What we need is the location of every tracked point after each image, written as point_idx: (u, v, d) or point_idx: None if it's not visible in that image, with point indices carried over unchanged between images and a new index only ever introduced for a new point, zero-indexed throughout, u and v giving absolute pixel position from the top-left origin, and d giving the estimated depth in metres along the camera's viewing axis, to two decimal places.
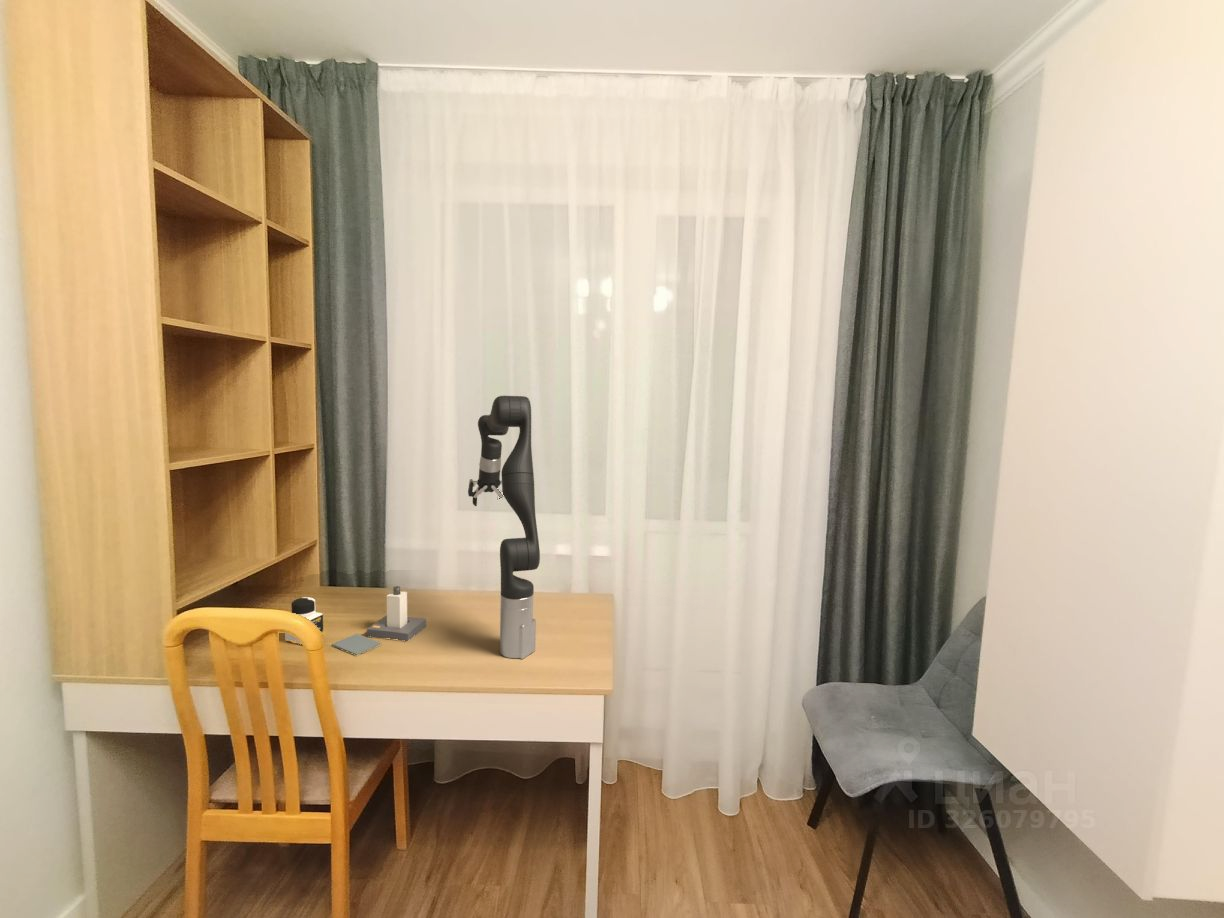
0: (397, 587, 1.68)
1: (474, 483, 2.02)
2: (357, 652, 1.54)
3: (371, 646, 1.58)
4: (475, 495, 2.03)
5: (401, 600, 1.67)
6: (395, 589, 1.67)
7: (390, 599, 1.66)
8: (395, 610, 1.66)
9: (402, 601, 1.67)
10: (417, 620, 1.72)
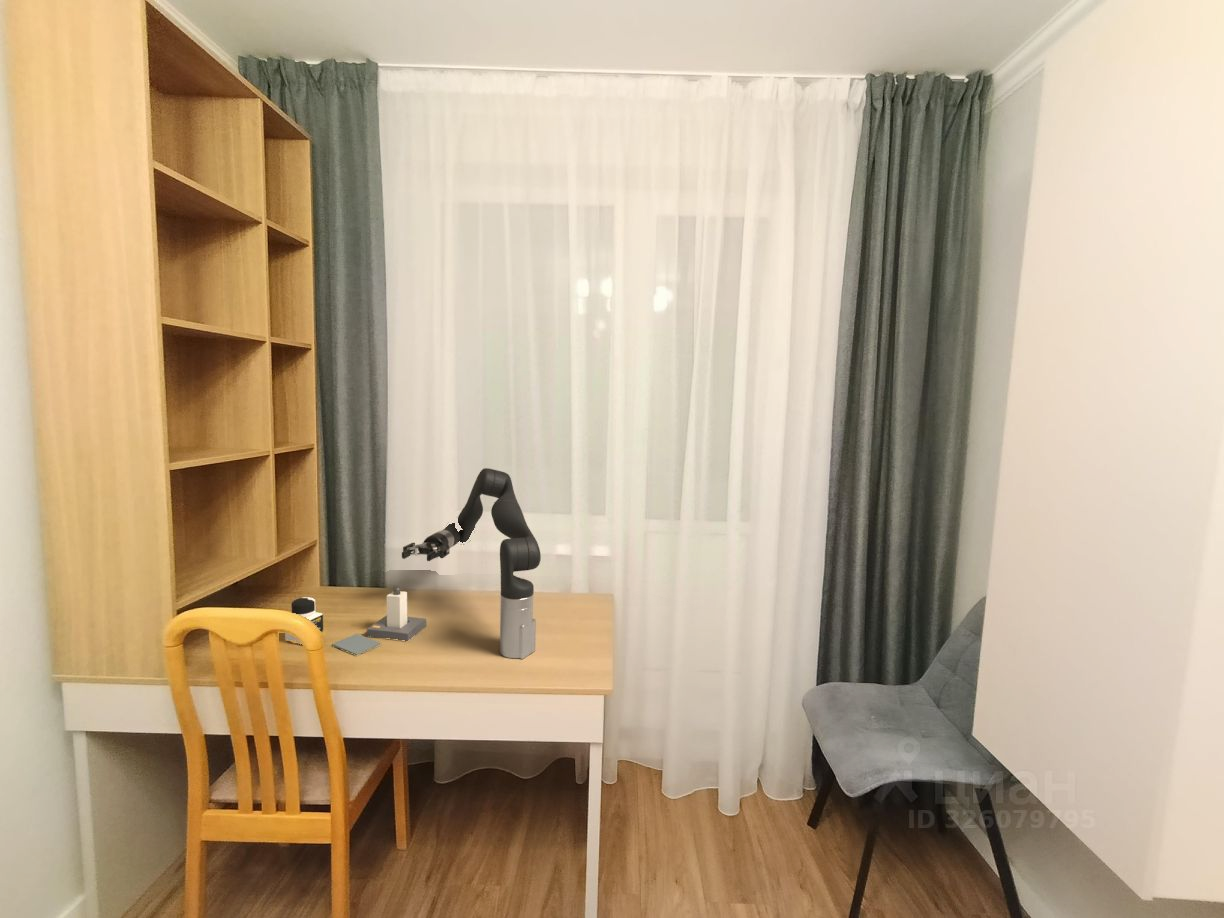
0: (397, 587, 1.68)
1: None
2: (357, 652, 1.54)
3: (371, 646, 1.58)
4: (410, 547, 1.83)
5: (401, 600, 1.67)
6: (395, 589, 1.67)
7: (389, 599, 1.66)
8: (394, 610, 1.66)
9: (402, 601, 1.67)
10: (417, 620, 1.72)
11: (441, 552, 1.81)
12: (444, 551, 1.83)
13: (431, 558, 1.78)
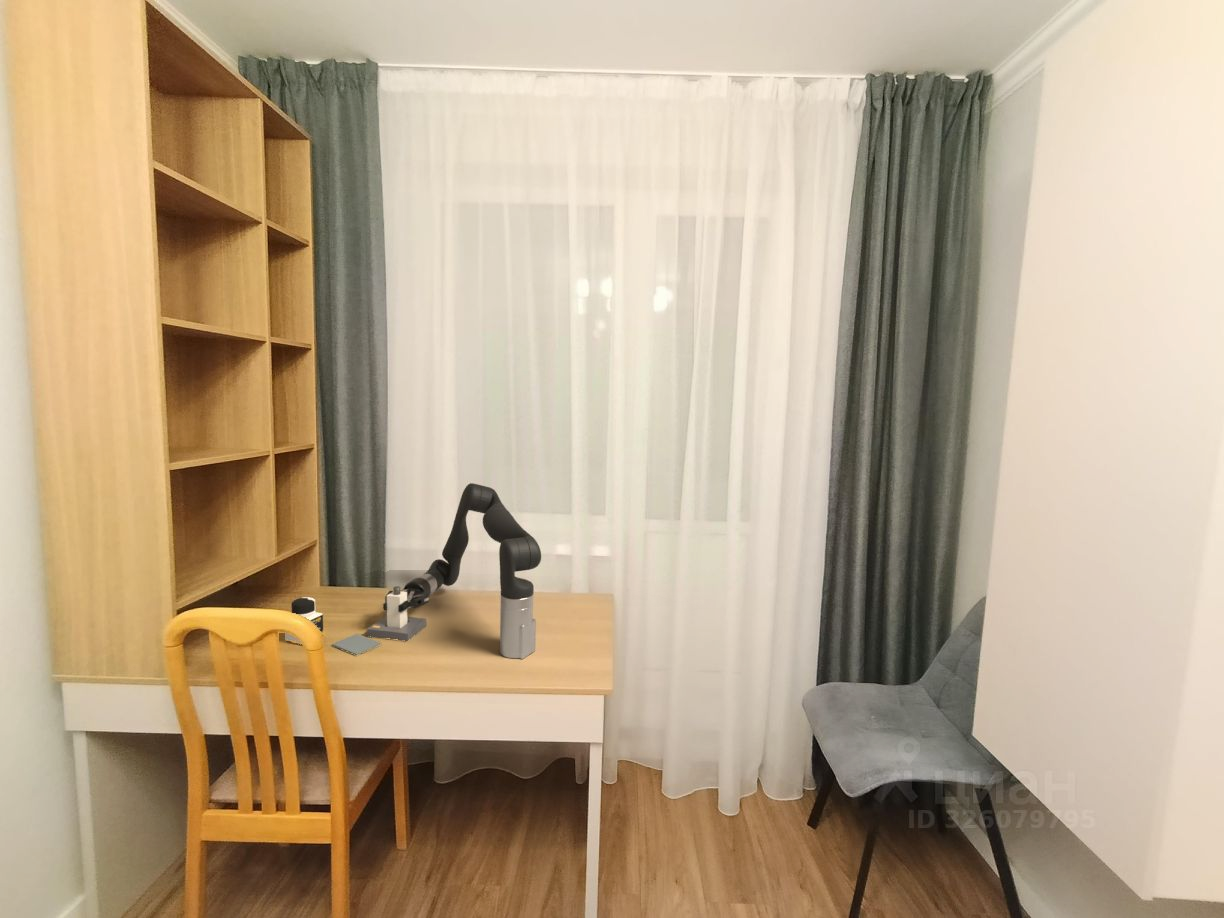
0: (397, 587, 1.68)
1: None
2: (357, 652, 1.54)
3: (371, 646, 1.58)
4: None
5: (401, 600, 1.67)
6: (395, 589, 1.67)
7: (390, 599, 1.66)
8: (395, 610, 1.66)
9: (402, 601, 1.67)
10: (417, 620, 1.72)
11: (414, 601, 1.69)
12: (420, 600, 1.71)
13: (403, 609, 1.66)
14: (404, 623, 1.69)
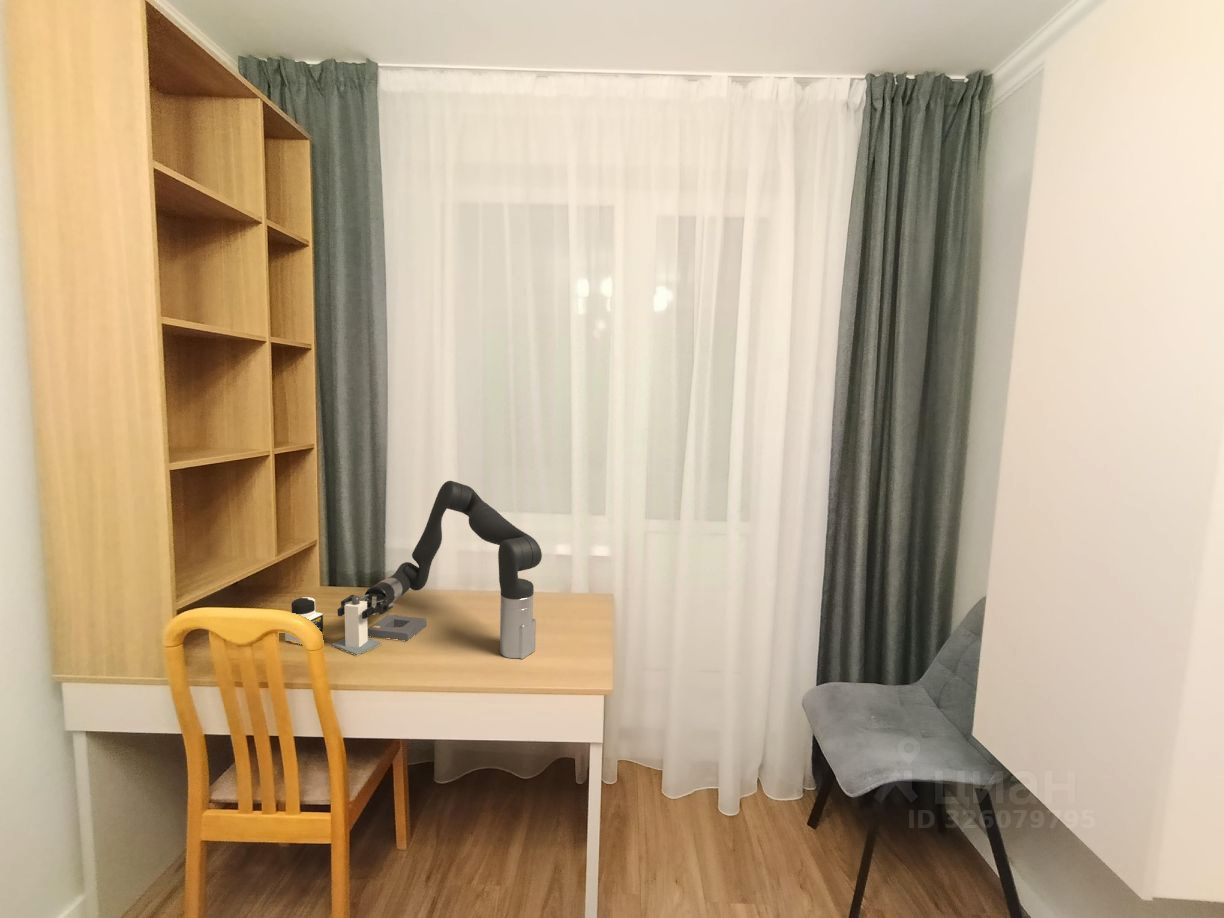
0: (356, 596, 1.58)
1: None
2: (357, 652, 1.54)
3: (371, 646, 1.58)
4: (348, 602, 1.61)
5: (360, 610, 1.57)
6: (354, 599, 1.57)
7: (348, 609, 1.56)
8: (353, 621, 1.56)
9: (362, 611, 1.57)
10: (417, 620, 1.72)
11: (380, 607, 1.59)
12: (385, 606, 1.62)
13: (367, 615, 1.56)
14: (364, 635, 1.59)
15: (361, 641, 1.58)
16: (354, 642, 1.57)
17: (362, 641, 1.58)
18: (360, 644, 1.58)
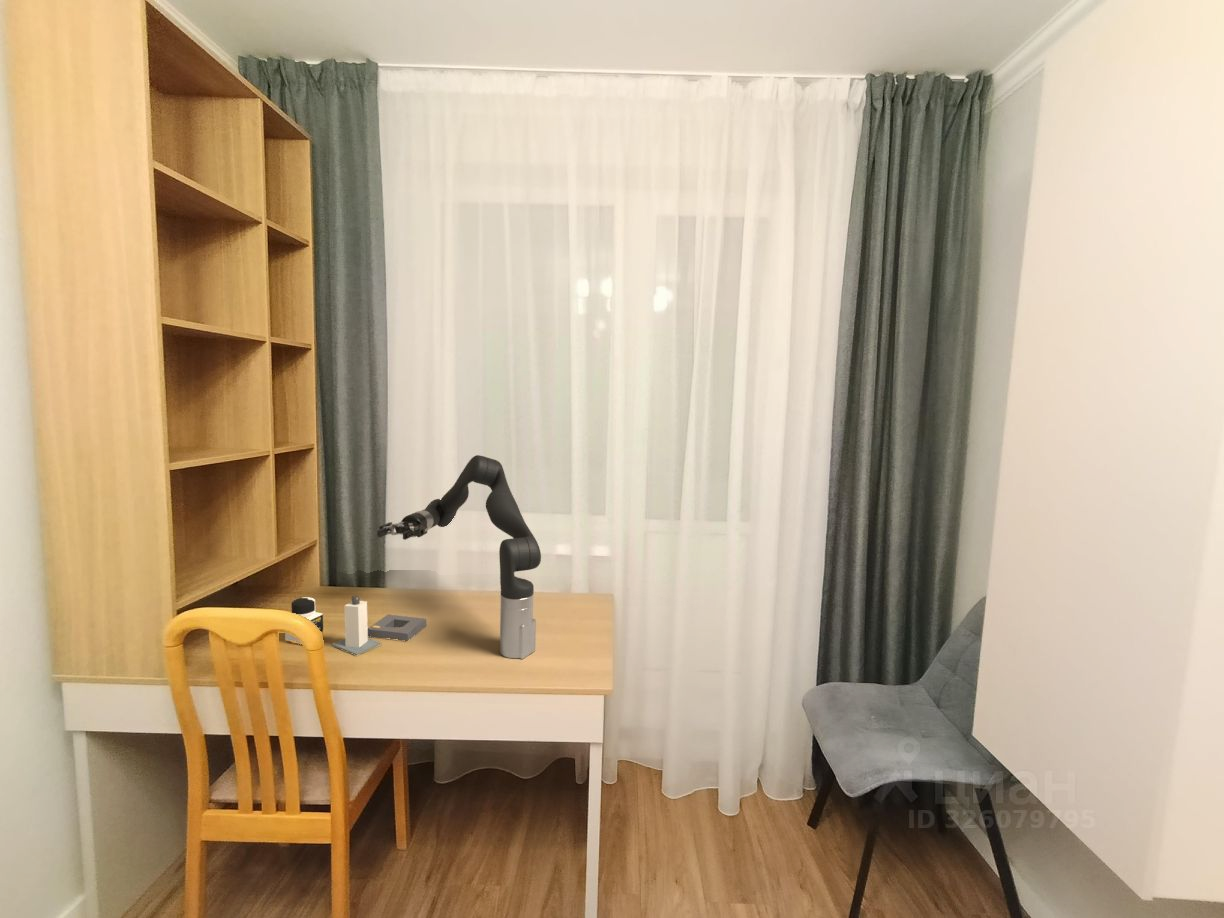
0: (356, 596, 1.58)
1: None
2: (357, 652, 1.54)
3: (371, 646, 1.58)
4: (386, 526, 1.78)
5: (360, 610, 1.57)
6: (354, 599, 1.57)
7: (348, 609, 1.56)
8: (353, 621, 1.56)
9: (362, 611, 1.57)
10: (417, 620, 1.72)
11: (418, 531, 1.76)
12: (421, 530, 1.79)
13: (407, 536, 1.73)
14: (364, 635, 1.59)
15: (361, 641, 1.58)
16: (354, 642, 1.57)
17: (362, 641, 1.58)
18: (360, 644, 1.58)
